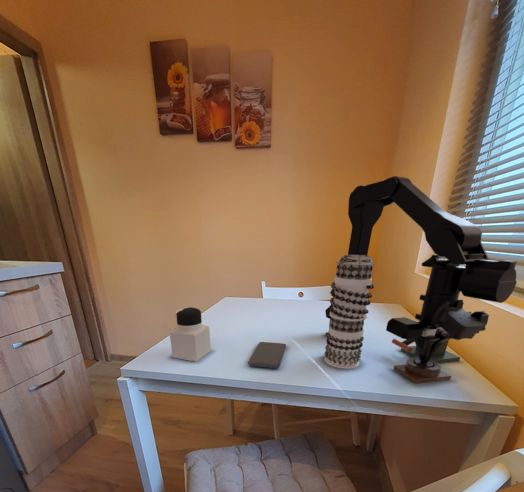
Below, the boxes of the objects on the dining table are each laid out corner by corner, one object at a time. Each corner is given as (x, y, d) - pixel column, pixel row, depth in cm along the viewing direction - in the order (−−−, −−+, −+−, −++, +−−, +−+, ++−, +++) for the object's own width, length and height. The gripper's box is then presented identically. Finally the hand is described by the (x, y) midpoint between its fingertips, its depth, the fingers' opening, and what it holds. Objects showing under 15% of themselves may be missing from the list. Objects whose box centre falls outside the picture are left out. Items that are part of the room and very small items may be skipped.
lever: (408, 355, 67) (407, 346, 66) (392, 345, 72) (390, 338, 71) (451, 332, 67) (450, 324, 66) (432, 325, 73) (431, 317, 72)
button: (421, 374, 60) (423, 367, 60) (409, 366, 63) (411, 360, 63) (435, 372, 61) (437, 365, 60) (422, 365, 64) (424, 358, 64)
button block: (414, 385, 59) (418, 372, 57) (393, 370, 65) (395, 358, 64) (449, 380, 61) (453, 368, 59) (425, 366, 67) (428, 355, 66)
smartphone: (286, 343, 77) (278, 365, 64) (286, 346, 78) (278, 369, 64) (259, 341, 79) (246, 362, 65) (259, 344, 79) (246, 366, 65)
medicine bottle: (211, 351, 74) (208, 307, 69) (196, 362, 67) (192, 314, 63) (188, 347, 76) (183, 304, 71) (172, 357, 70) (166, 311, 65)
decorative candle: (345, 351, 74) (359, 253, 65) (369, 366, 66) (389, 256, 57) (315, 356, 71) (325, 254, 62) (336, 372, 64) (351, 257, 54)
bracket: (425, 365, 67) (435, 327, 64) (400, 351, 75) (408, 316, 72) (459, 361, 70) (471, 324, 66) (431, 348, 78) (440, 314, 74)
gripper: (435, 303, 46) (414, 385, 52) (521, 299, 50) (492, 375, 56) (391, 290, 56) (378, 360, 62) (466, 287, 60) (446, 353, 66)
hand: (423, 362), depth 62 cm, fingers closed, pressing on button
